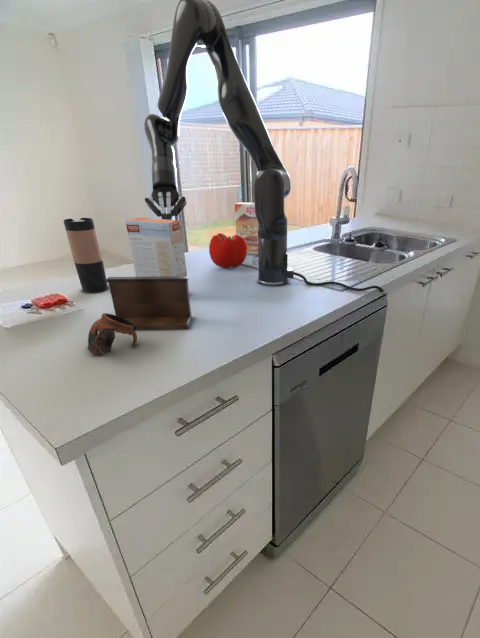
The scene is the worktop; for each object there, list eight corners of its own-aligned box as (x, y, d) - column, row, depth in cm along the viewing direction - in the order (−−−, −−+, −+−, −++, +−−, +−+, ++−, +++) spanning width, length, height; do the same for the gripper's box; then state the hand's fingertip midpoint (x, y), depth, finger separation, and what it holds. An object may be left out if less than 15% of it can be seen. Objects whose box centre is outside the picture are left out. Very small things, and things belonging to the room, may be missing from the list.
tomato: (204, 269, 135) (201, 235, 129) (223, 260, 147) (221, 229, 141) (236, 273, 131) (234, 238, 125) (253, 264, 143) (253, 232, 137)
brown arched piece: (90, 342, 83) (102, 308, 81) (132, 358, 85) (145, 325, 84) (72, 354, 71) (86, 314, 70) (122, 371, 74) (136, 333, 73)
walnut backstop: (192, 318, 95) (188, 276, 89) (189, 328, 89) (183, 284, 83) (118, 319, 93) (108, 276, 88) (109, 330, 87) (98, 285, 82)
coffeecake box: (236, 253, 157) (234, 203, 147) (240, 250, 163) (238, 201, 153) (270, 255, 155) (270, 204, 145) (273, 251, 161) (274, 203, 151)
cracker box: (190, 294, 111) (181, 219, 100) (179, 300, 106) (168, 222, 95) (150, 289, 115) (138, 216, 104) (138, 294, 110) (124, 219, 99)
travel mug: (99, 294, 110) (81, 222, 100) (76, 292, 111) (56, 220, 101) (114, 286, 116) (98, 218, 106) (92, 284, 118) (75, 217, 107)
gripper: (139, 168, 112) (141, 221, 109) (183, 167, 113) (187, 219, 111) (146, 185, 119) (148, 234, 117) (187, 184, 121) (191, 233, 118)
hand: (167, 227), depth 114 cm, fingers closed
